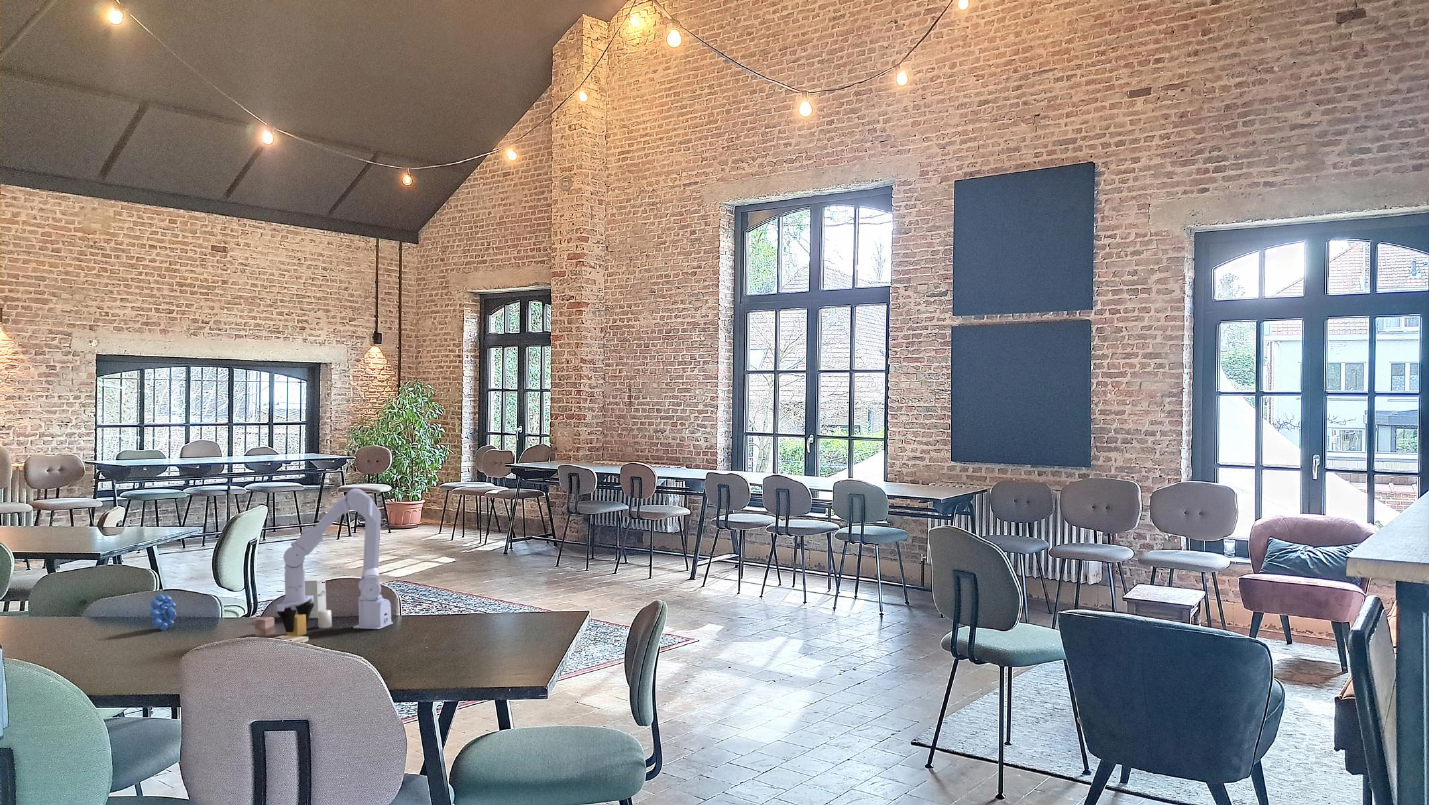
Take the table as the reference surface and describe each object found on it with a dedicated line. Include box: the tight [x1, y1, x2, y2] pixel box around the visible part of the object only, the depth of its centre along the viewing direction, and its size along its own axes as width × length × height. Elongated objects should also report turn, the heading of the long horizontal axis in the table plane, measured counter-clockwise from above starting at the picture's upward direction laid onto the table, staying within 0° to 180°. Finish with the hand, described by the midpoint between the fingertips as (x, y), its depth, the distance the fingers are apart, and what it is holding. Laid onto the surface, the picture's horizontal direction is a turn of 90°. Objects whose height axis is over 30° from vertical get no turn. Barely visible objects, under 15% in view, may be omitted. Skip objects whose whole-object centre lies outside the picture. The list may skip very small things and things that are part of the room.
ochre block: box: [286, 613, 307, 636], centre depth 316 cm, size 4×4×6 cm
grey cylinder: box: [317, 609, 333, 629], centre depth 326 cm, size 4×4×5 cm
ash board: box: [274, 635, 309, 644], centre depth 304 cm, size 10×10×1 cm
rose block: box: [253, 616, 276, 637], centre depth 318 cm, size 4×4×5 cm
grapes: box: [148, 593, 178, 631], centre depth 327 cm, size 12×7×12 cm, turn 173°
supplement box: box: [296, 576, 327, 619], centre depth 342 cm, size 7×7×13 cm
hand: (296, 629), depth 316 cm, fingers open, 6 cm apart
